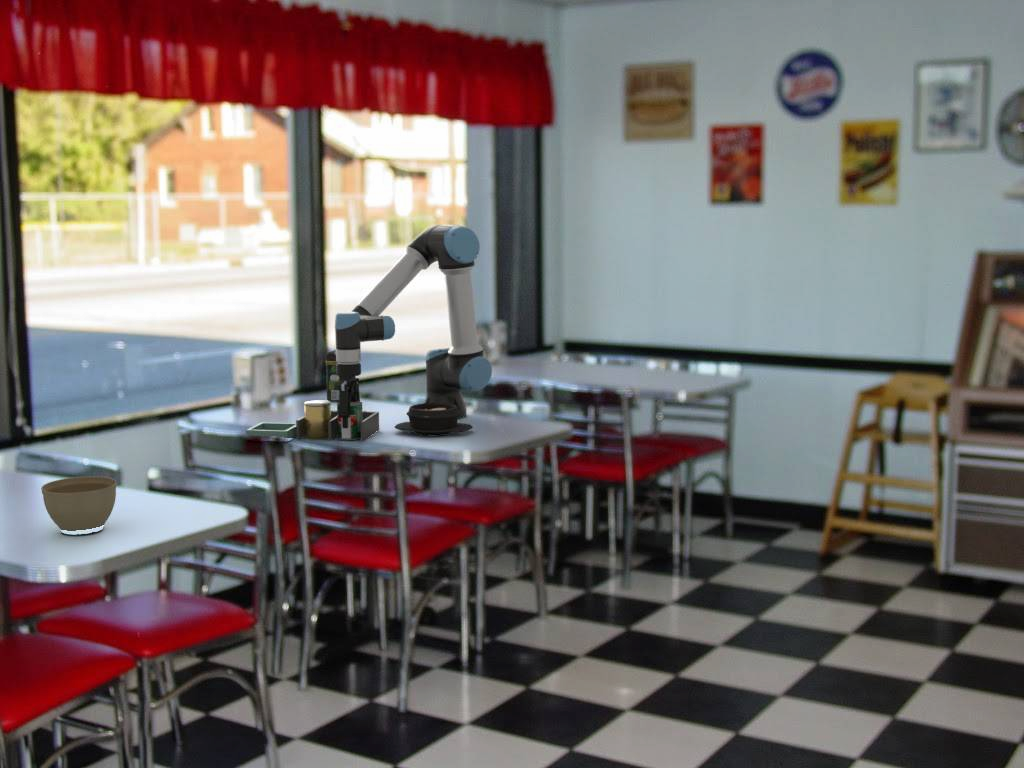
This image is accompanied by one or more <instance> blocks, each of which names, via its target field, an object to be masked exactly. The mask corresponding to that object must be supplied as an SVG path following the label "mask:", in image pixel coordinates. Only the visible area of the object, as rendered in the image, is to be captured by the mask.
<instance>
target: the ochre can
mask: <svg viewBox="0 0 1024 768" xmlns="http://www.w3.org/2000/svg"><path fill="white" fill-rule="evenodd" d="M331 405H332V401H328V400H327V399H326V400H325V399H324V400H323V399H315V400H314V399H313V400H306V401H304V416H305V436H304V437H305V439H306V440H310V441H320V440H321V441H322V440H329V435H328V421H329V420H331V410H332V406H331Z"/></svg>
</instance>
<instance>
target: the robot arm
mask: <svg viewBox="0 0 1024 768" xmlns="http://www.w3.org/2000/svg"><path fill="white" fill-rule="evenodd" d="M479 253H480V242H479V237H478V235H477V233H476V232H475V231H473V230H472V229H471V228H469V227H467V226H464V225H463V226H462V225H458V224H457V225H456V224H453V225H452V224H449V225H448V224H447V225H445V224H444V225H443V224H435V225H432V226H430V227H427V228H426V229H424V230H423V231H422V232H421V233H419V234H418V235H417V236H416V237H415V238H414V239H413V240H412V241H411V242H410V243H409V244H408V245H407V246H406V247H405V248H404V254H403V255H402V256H401V257H400V258H399V259H398V260H397V261H396V263H395V264H393V266H392V267H391V268H390V269H389V270H388V271H387V272H386V273H385V274H384V275H383V277H381V279H380V280H379V281H378V282H377V283H376V284H375V285H374V286H373V287H372V288H371V289H370V291H369V292H368V293H367V294H366V295H365V296H364V297H363V298H362V299H361V300H360V301H359V302H358V304H356V305H355V307H353V309H352V310H351V311H339V312H337V313H336V314H335V319H334V330H335V331H334V333H335V350H336V352H335V353H334V354H335V355H336V361H337V362H338V363H337V364H336V373H337V375H338V376H342V382H341V384H339V401H338V402H339V415H338V417H340V418H341V424H342V438H348V439H351V417H349V416H350V404H351V402H357V401H360V402H361V397H360V394H361V393H360V378H359V377H358V376H361V374H362V364H361V361H362V354H361V353H362V351H361V343H365V342H374V341H376V342H377V341H386V340H387V341H388V340H391V339H393V337H394V336H395V333H396V325H395V320H394V319H393V318H392V317H391V316H390V315H382V313H383V312H384V311H385V310H386V309H387V308H388V307H389V306H390V305H391V304H392V303H393V302H394V300H395V299H396V298H397V297H398V296H399V295H400V294H401V293H402V291H403V290H404V289H405V288H407V286H408V285H409V284H410V283H411V282H412V281H413V280H414V279H415V278H416V277H417V276H418V274H419V273H420V272H421V271H422V270H427V269H429V267H430V266H431V265H432V264H434V263H435V262H437V264H438V270H439V271H440V272H441V273H443V275H444V285H445V295H446V305H447V313H448V315H447V316H448V322H449V323H448V324H449V332H450V333H449V334H450V341H451V347H448V348H447V347H446V348H435V349H428V350H427V352H426V355H425V356H426V358H425V369H426V373H425V374H426V375H425V377H426V379H425V380H426V395H425V398H424V402H423V403H447V404H452V405H456V406H457V408H458V411H459V412H460V414H459V416H458V419H461V418H465V417H466V416H467V407H466V403H465V401H464V399H463V395H462V391H465V392H478V391H481V390H483V389H484V388H485V387H486V386H487V385H488V383H490V381H491V379H492V375H493V374H492V373H493V367H492V364H491V362H490V361H489V360H488V359H487V358H486V357H484V356H485V355H484V347H482V346H481V345H480V344H479V343H478V342H479V340H478V332H477V323H476V312H475V302H474V293H473V284H472V283H473V282H472V275H471V273H472V272H471V271H472V270H473V269H474V267H475V260H476V259H477V258H478V256H477V255H478V254H479ZM344 412H345V413H344Z"/></svg>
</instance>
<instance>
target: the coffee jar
mask: <svg viewBox="0 0 1024 768" xmlns="http://www.w3.org/2000/svg"><path fill="white" fill-rule="evenodd" d="M335 352H336V349H334V350H331V351H329V352H327V353H326V354H325V367H326V400H327V401H330V402H331V403H332V402H333V403H338V402H339V384H341V382H342V376H338V375H337V373H336V364H337V363H338V362H337V361H336V355H335V354H334V353H335Z"/></svg>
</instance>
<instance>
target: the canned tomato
mask: <svg viewBox="0 0 1024 768" xmlns="http://www.w3.org/2000/svg"><path fill="white" fill-rule="evenodd" d="M362 410H363V402H362V401H361V400H360V401H357V402H351V404H350V416H349V417H351V439H348V438H342V424H341V418H340V417H338V415H339V401H338V402H336V411H337V423H338V424H337V425H338V436H337V439H338V440H341V441H356V440H357V439H358V440H361V426H360V422H361V421H363V413H362V412H363V411H362ZM344 413H345V412H344Z"/></svg>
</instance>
